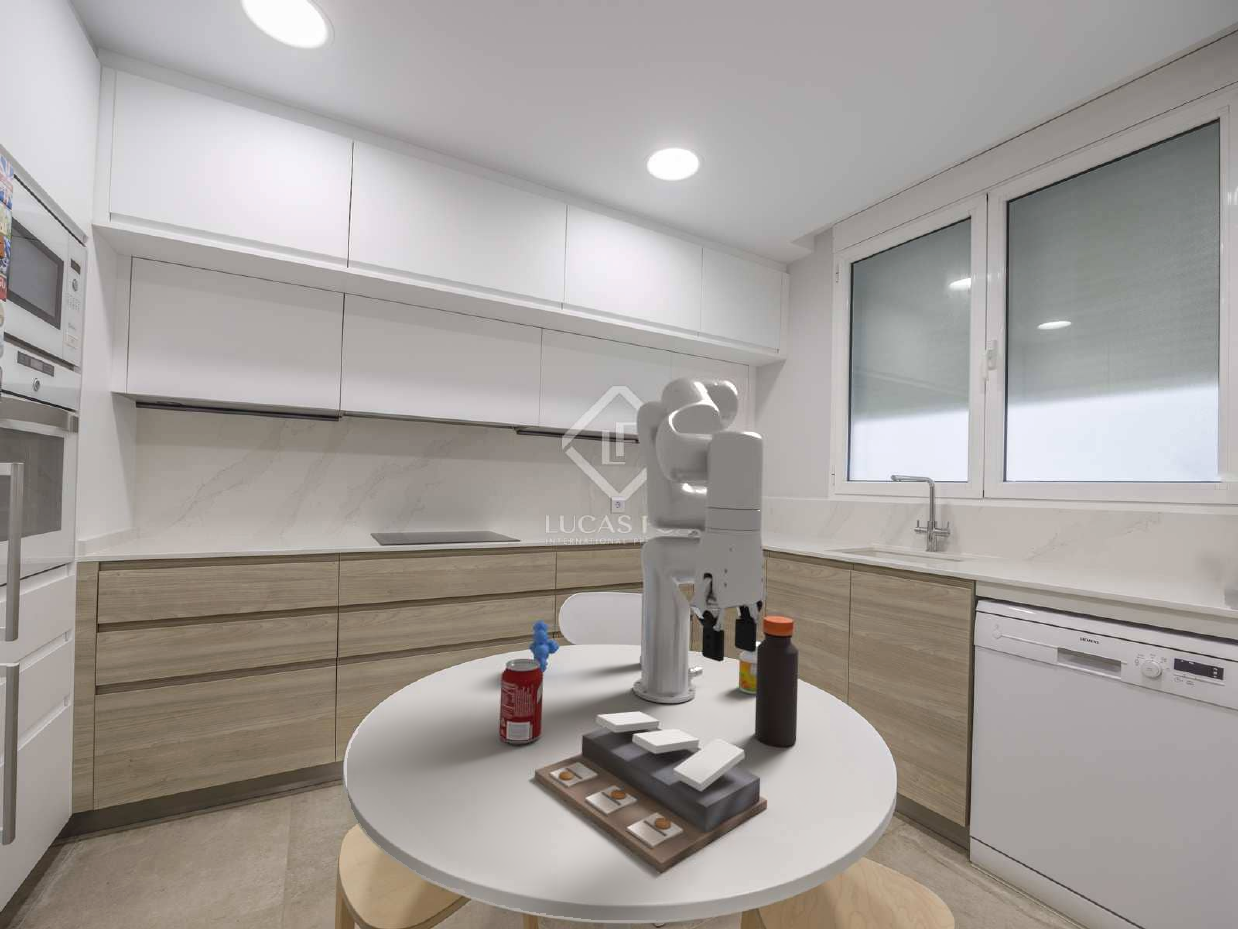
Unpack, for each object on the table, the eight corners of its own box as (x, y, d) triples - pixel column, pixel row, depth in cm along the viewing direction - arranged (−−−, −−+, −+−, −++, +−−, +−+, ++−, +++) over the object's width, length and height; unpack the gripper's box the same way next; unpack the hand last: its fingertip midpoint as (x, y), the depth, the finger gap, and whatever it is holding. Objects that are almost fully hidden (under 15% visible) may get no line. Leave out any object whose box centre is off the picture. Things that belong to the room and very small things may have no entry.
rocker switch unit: (636, 739, 93) (637, 714, 93) (766, 807, 75) (767, 776, 75) (534, 777, 80) (535, 749, 80) (661, 872, 61) (662, 835, 61)
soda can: (532, 750, 88) (535, 672, 89) (492, 744, 90) (495, 668, 90) (546, 731, 95) (549, 659, 95) (508, 726, 96) (511, 655, 97)
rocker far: (638, 718, 90) (639, 711, 91) (658, 727, 87) (659, 720, 87) (595, 722, 85) (596, 715, 85) (615, 732, 81) (616, 725, 81)
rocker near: (717, 745, 78) (717, 738, 78) (744, 757, 75) (744, 750, 75) (674, 776, 73) (673, 769, 72) (701, 791, 69) (700, 784, 69)
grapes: (560, 683, 118) (563, 625, 118) (528, 684, 116) (530, 626, 117) (556, 665, 129) (558, 613, 130) (526, 666, 128) (528, 613, 128)
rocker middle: (675, 735, 84) (676, 728, 85) (698, 747, 81) (699, 739, 81) (632, 741, 79) (633, 734, 79) (655, 753, 75) (656, 746, 75)
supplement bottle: (735, 685, 120) (736, 639, 121) (760, 685, 121) (761, 639, 121) (743, 695, 115) (744, 646, 115) (768, 695, 116) (770, 647, 116)
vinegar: (803, 739, 96) (806, 620, 96) (784, 752, 91) (787, 626, 91) (766, 726, 100) (769, 612, 101) (747, 738, 95) (750, 618, 96)
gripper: (747, 519, 86) (744, 638, 85) (669, 520, 74) (665, 658, 74) (791, 522, 80) (788, 650, 80) (714, 525, 69) (710, 674, 68)
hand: (729, 652), depth 77 cm, fingers open, 6 cm apart
